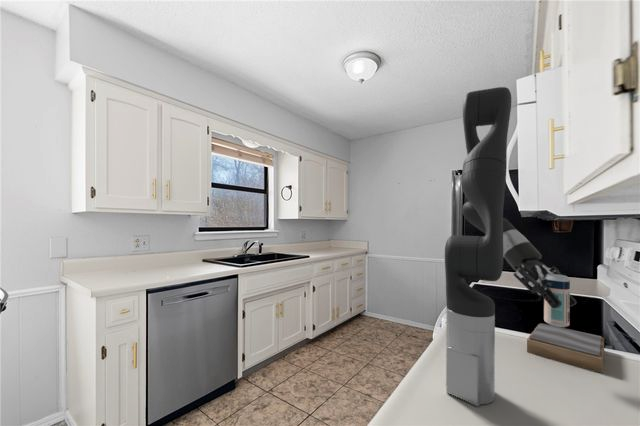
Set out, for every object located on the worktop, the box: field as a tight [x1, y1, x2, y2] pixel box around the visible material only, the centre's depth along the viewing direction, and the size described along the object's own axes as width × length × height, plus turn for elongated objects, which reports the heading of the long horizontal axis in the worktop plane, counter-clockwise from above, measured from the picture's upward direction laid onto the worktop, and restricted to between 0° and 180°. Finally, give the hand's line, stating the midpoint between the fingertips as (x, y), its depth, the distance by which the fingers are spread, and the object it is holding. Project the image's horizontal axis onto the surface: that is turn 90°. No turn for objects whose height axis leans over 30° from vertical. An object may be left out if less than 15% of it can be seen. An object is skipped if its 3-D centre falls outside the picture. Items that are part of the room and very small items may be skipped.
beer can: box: [543, 274, 571, 328], centre depth 69 cm, size 5×5×12 cm
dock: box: [526, 322, 605, 374], centre depth 81 cm, size 18×15×4 cm
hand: (565, 305), depth 68 cm, fingers closed on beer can, 4 cm apart
